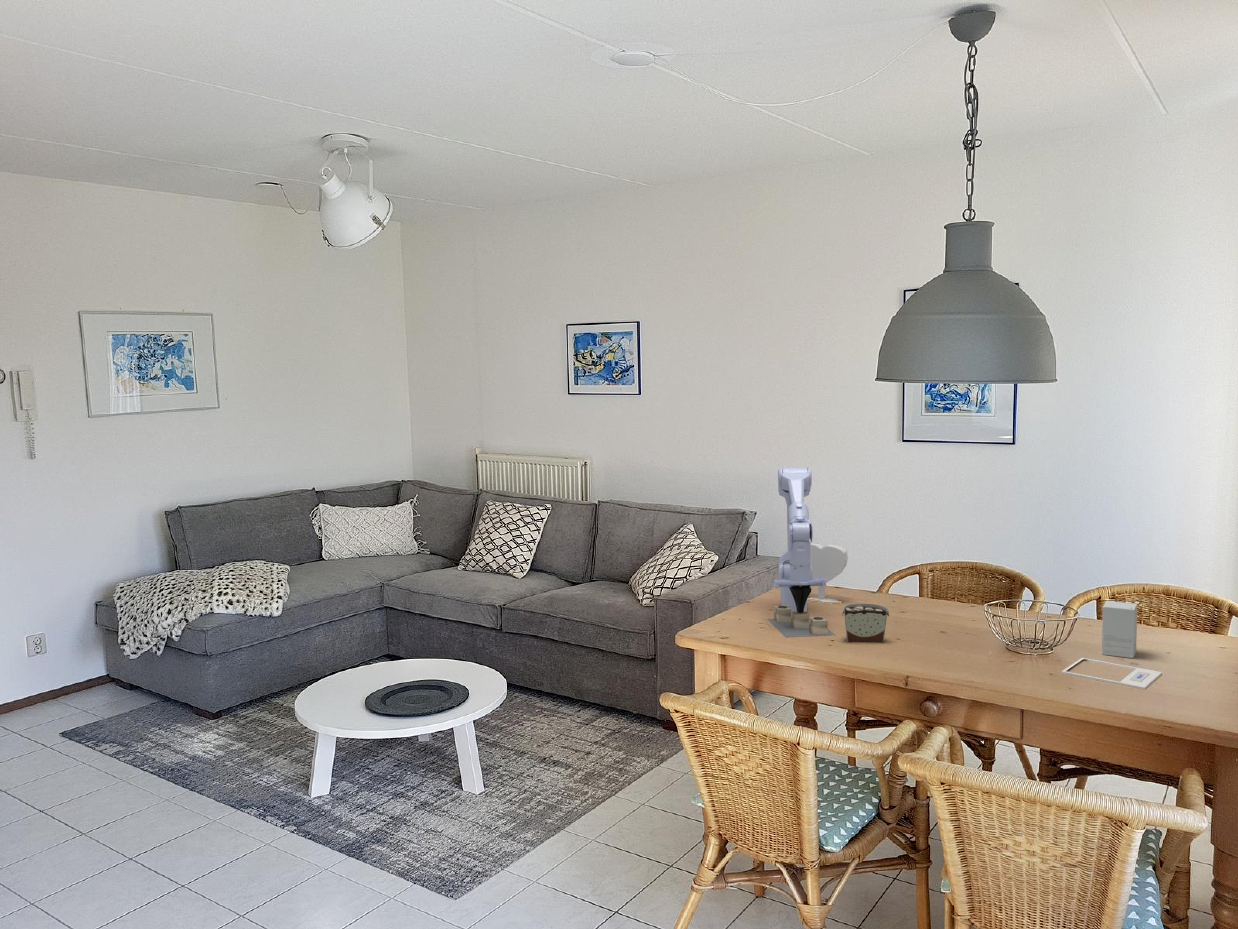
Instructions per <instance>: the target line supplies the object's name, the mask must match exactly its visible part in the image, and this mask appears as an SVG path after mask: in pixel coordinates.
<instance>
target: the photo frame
mask: <svg viewBox="0 0 1238 929" xmlns="http://www.w3.org/2000/svg"><path fill="white" fill-rule="evenodd" d="M1082 661H1087V662H1089V663H1095V664H1101V665H1106V666H1110V667H1111V666H1112V667H1117V668H1123V669H1128V670H1131V672H1130V673H1129V674H1127V676H1125V677H1124V678H1122V679H1121V680H1120V681H1118V680H1113V679H1108V678H1107V679H1106V678H1101V677H1096V676H1092V675H1087V674H1082V673H1081V674H1080V673H1076V672H1071V671H1068V670H1069V669H1070V668H1072V667H1074V666H1075V665H1076V664H1078V663H1080V662H1082ZM1132 670H1133V671H1132ZM1061 674H1063V675H1067V674H1068V675H1069V676H1073V677H1078V678H1083V679H1087V678H1088V680H1094V681H1100V682H1104V683H1109V684H1113V685H1118V686H1119V685H1120V686H1123V687H1130V688H1134V689H1139V690H1146V689H1147V688H1148V687H1149V686H1150V685H1152V684H1153V683H1154V682H1155V681H1156V680H1157V679H1158V678H1160V676H1161V674H1162V675H1163V672H1162V671H1158V670H1152V669H1147V668H1141V667H1135V666H1130V665H1125V664H1120V663H1114V662H1108V661H1102V660H1099V659H1098V660H1097V659H1093V658H1086V657H1080V658H1079V659H1078V660H1076V661H1075V662H1072V663H1071V664H1070V665H1068V666H1067V667H1066V668H1064V669H1063V670H1061Z"/></svg>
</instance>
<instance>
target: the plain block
mask: <svg viewBox="0 0 1238 929" xmlns="http://www.w3.org/2000/svg"><path fill="white" fill-rule="evenodd" d="M809 617H810V613H808V611H807V612H806V611H804V612H803V613H798V612H797V611H791V625H792V626H793V627H794V628H795V629H803V628H809Z"/></svg>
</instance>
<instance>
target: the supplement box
mask: <svg viewBox="0 0 1238 929" xmlns="http://www.w3.org/2000/svg"><path fill="white" fill-rule="evenodd" d="M1101 625H1102V629H1101V633H1102V634H1101V635H1102V637H1101V655H1105V656H1112V657H1118V658H1119V657H1120V658H1128V659H1129V658H1130V659H1134V658H1135V655H1136V654H1137V653H1136V652H1137V638H1138V637H1137V633H1138V632H1137V627H1138V603H1134V602H1133V603H1132V602H1123V601H1113V600H1111V601H1110V600H1106V602H1104V604H1103V606H1102V624H1101Z"/></svg>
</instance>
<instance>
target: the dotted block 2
mask: <svg viewBox="0 0 1238 929" xmlns="http://www.w3.org/2000/svg"><path fill="white" fill-rule="evenodd" d="M828 622H829V620H828V619H827V618H825V617H824V616H809V632H810V633H812V634H813V635H827V634H828V629H829V628H828V625H829V623H828Z"/></svg>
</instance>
